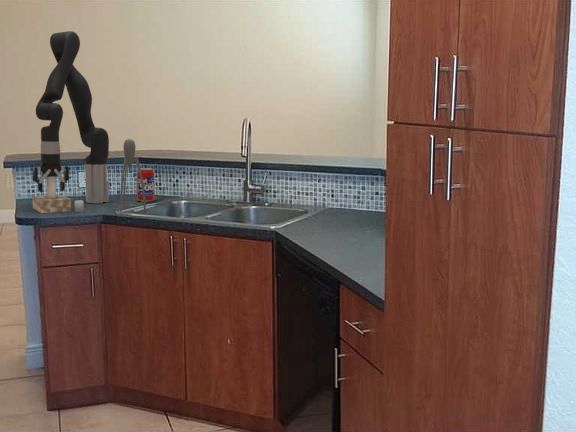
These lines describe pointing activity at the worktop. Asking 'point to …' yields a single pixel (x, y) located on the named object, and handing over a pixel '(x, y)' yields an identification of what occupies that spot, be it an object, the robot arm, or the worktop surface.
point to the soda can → (146, 185)
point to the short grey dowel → (79, 206)
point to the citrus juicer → (128, 160)
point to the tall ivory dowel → (51, 187)
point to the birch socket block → (51, 204)
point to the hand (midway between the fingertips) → (51, 191)
